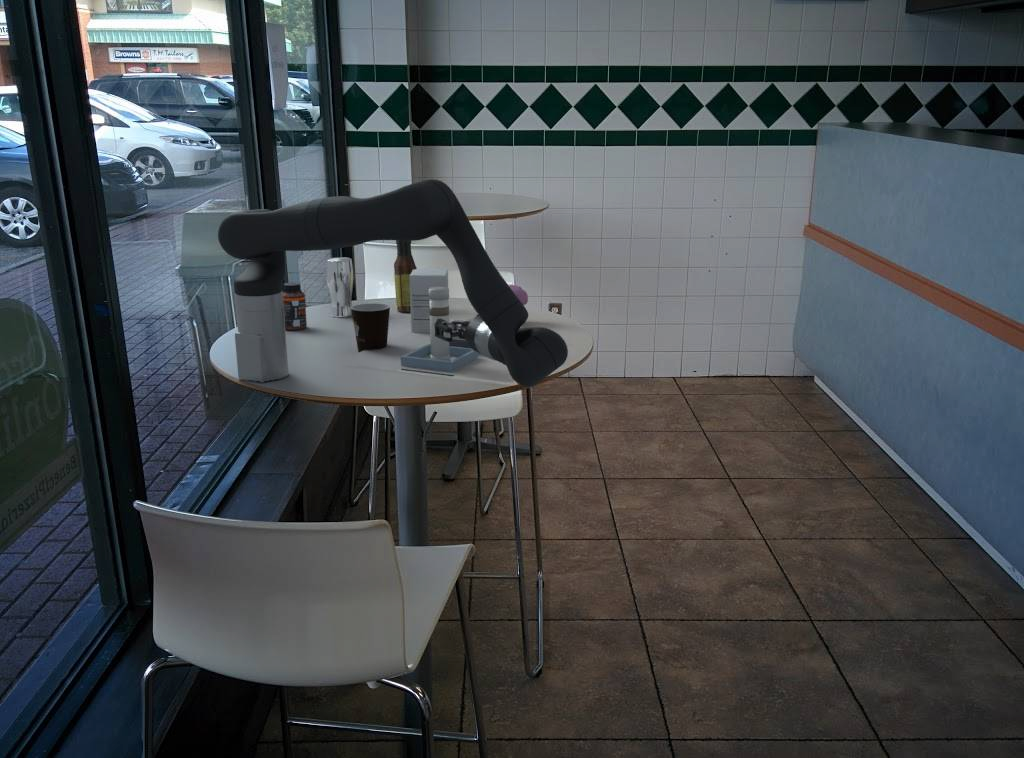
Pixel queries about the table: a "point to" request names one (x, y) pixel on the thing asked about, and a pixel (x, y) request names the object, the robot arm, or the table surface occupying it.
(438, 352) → the cylinder
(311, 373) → the table surface
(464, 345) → the box
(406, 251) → the sauce bottle
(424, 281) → the supplement box
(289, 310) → the supplement bottle
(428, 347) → the parts tray
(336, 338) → the table surface
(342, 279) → the beer glass
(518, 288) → the cupcake
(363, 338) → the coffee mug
